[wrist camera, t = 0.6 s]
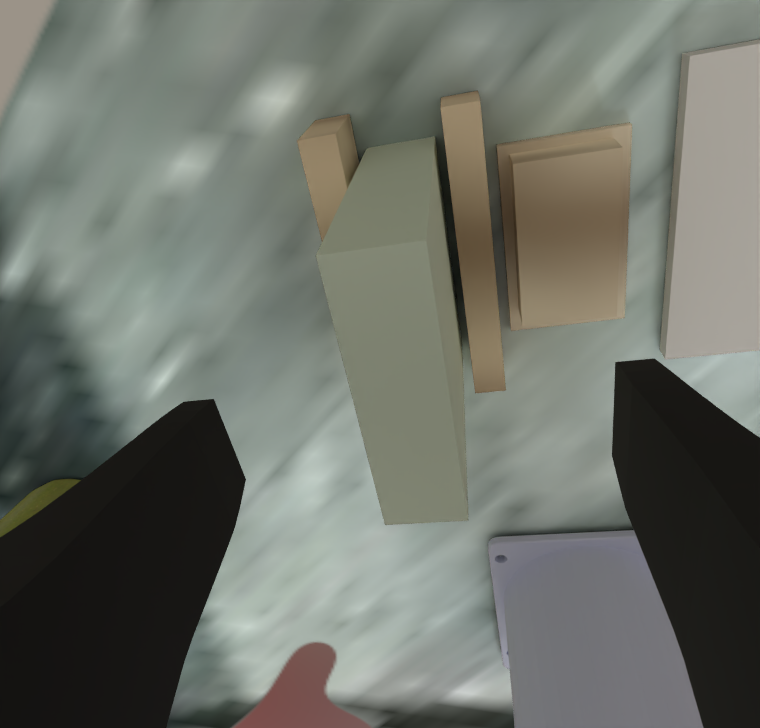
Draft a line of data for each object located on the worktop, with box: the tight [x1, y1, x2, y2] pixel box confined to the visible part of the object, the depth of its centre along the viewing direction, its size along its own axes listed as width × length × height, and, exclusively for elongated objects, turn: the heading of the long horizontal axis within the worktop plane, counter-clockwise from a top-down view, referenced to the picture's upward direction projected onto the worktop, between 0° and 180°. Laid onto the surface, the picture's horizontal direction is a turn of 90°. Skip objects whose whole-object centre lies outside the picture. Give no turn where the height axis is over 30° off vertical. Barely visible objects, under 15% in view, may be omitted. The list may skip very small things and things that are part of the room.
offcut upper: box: [509, 138, 623, 327], centre depth 17 cm, size 5×3×1 cm, turn 10°
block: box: [316, 136, 468, 525], centre depth 16 cm, size 7×2×8 cm, turn 11°
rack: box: [297, 91, 506, 393], centre depth 18 cm, size 9×5×2 cm, turn 11°
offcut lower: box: [496, 122, 632, 331], centre depth 18 cm, size 6×4×1 cm, turn 11°
